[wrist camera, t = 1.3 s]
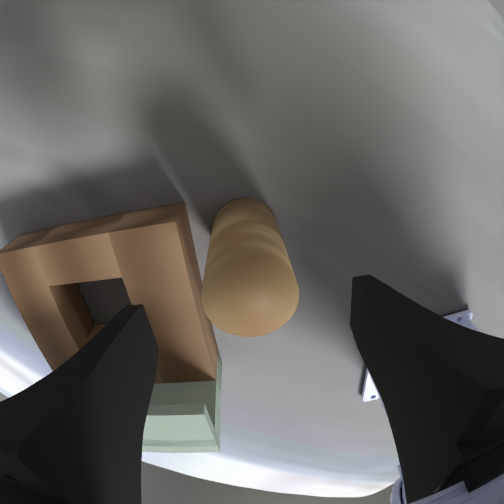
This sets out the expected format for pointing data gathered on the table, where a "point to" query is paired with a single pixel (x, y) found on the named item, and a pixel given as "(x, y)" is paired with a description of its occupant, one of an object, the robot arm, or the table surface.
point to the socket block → (108, 267)
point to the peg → (248, 271)
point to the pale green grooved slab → (184, 417)
